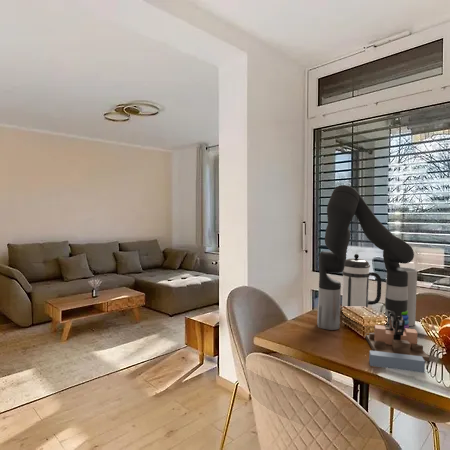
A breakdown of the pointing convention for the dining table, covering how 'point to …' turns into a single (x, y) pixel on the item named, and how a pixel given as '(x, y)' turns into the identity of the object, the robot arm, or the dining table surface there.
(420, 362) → the blue-grey rectangular bar
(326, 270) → the robot arm
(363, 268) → the coffee press
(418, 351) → the jig
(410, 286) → the cylinder vase
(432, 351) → the dining table surface
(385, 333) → the pink u-shaped block
